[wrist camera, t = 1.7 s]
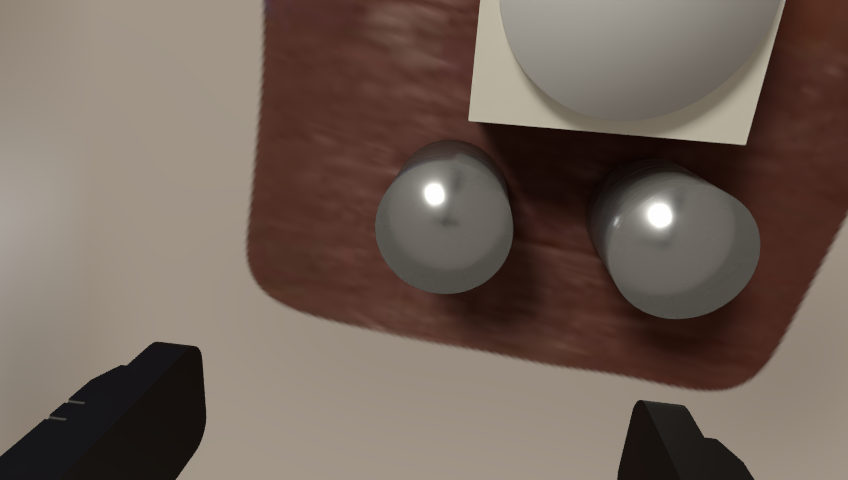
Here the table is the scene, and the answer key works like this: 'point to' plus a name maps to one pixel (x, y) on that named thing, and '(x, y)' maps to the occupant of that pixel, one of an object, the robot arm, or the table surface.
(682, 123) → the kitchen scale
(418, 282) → the cylinder
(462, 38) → the table surface
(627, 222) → the cylinder
